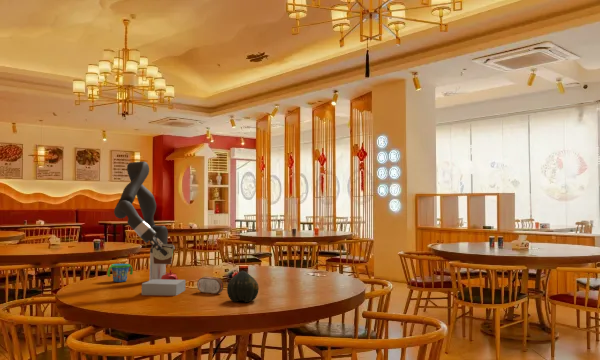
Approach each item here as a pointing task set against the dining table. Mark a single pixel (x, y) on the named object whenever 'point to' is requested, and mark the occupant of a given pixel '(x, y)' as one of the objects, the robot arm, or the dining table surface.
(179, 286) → the slate block
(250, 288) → the squash
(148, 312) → the dining table surface
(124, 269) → the snack cup
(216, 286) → the tin
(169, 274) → the pomegranate
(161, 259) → the food container
